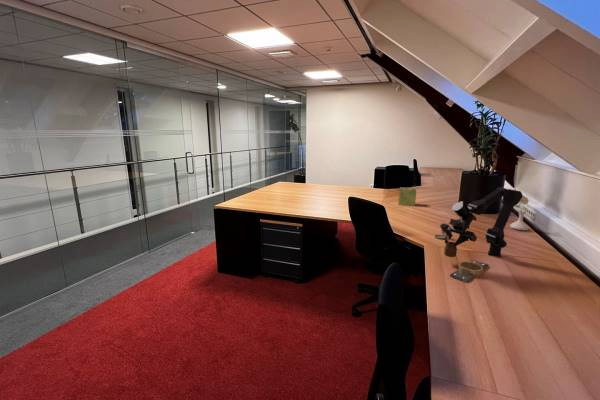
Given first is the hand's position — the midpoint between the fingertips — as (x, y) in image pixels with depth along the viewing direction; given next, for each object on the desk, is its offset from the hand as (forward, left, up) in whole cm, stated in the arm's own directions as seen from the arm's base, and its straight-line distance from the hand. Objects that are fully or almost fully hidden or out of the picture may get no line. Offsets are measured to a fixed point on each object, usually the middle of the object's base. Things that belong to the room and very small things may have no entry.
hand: (449, 244), depth 161 cm
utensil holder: (-1, +1, -7) cm, 7 cm away
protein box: (-125, -49, -12) cm, 135 cm away
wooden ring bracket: (+4, +11, -11) cm, 16 cm away
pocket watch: (-42, -8, -11) cm, 44 cm away
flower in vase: (-90, +38, -11) cm, 98 cm away
